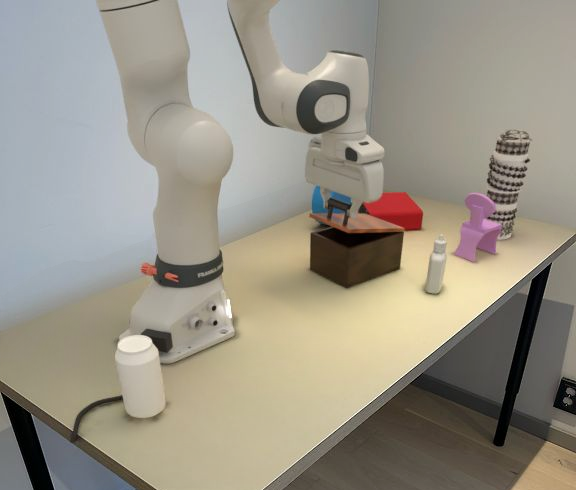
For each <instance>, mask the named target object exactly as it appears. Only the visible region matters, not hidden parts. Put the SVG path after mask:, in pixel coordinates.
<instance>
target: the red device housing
mask: <svg viewBox="0 0 576 490" xmlns="http://www.w3.org/2000/svg"><path fill="white" fill-rule="evenodd" d="M358 213H362V214H368V215H370V216H373V217H376V218H379V219H381V220H384V221H387V222H389V223H392V224H395V225H397V226H400V227H403V228H405V229H404V231H413V230H415V231H417V230H422V225H423V218H424V211H423V209H422V208H421V207H420V206H419V205H418V204H417V203H416V201H414V199H413V198H412V197H411V196H410V195H409V194H408V193H407V192H406V191H397V192H394V191H393V192H382V196H381V197H380V199H379V200H378V201H375V202H371V203H365V202H363V203H362V204H361V206H360V208H359V209H358Z"/></svg>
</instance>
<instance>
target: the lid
mask: <svg viewBox="0 0 576 490" xmlns="http://www.w3.org/2000/svg"><path fill="white" fill-rule="evenodd" d="M328 205H329V210H328V213H312V212H309V215H308V218H311V219H312V220H315V221H316V220H318V221H320V222H323V223H325V224H327V225H326V226H329V227H335V228H337V229H340V230H342V231H344V232H347V233H373V232H404V233H405V230H404V229H405V228H403V227H400V226H397V225H395V224H392V223H389V222H387V221H384V220H381V219H379V218H376V217H373V216H370V215H368V214H362V213H358V216H357V218H355V219H351V218H348V217H347V209H350V208H351V206H352V205H351V204H349V203H346V202H343V201H340V200H338V199H335V198H332V197H331V198H329V200H328ZM333 207H334V208H336V209H339V210H341V211H344V212H345V213H332V212H333ZM325 224H324V225H325Z"/></svg>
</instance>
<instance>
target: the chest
mask: <svg viewBox="0 0 576 490" xmlns="http://www.w3.org/2000/svg"><path fill="white" fill-rule="evenodd" d="M404 236H405V231H404V232H373V233H347V232H344V231H342V230H340V229H337V228H335V227H332V226H329V227H325V228H322V229H319V230H316V231H312V232H310V236H309V238H310V242H309V271H312V272H314V273H316V274H318V275H319V276H321V277H324V278H326V279H327V280H330V281H331V282H333V283H335V284H337V285H339V286H342V287H344V288H345V289H349V288H352V287H355V286H358V285H360V284H362V283H366V282H369V281H371V280H373V279H376V278H379V277H382V276H384V275H387V274H390V273H393V272H395V271H398V270H400V269H401V264H402V263H401V262H402V255H403V246H404V245H403V244H404Z"/></svg>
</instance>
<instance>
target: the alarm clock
mask: <svg viewBox="0 0 576 490" xmlns="http://www.w3.org/2000/svg"><path fill="white" fill-rule="evenodd" d="M330 194H331V197H332V198H335V199H338V200H340V201H343V202H346V203H349V204H351V205H352V204H353V203H351V197H348V196H345V195H342V194H339V193H337V192H334V191H330ZM323 204H324V200H323V198H322V196H321V193H320V186H317V185H314V189H313V193H312V198H311V213H328V209H325V208H324V207H323ZM332 213H345V212H344V211H341V210H339V209H336V208H333V212H332ZM315 221H316V222H317V223H318V227H319V228H321V226H322V225H325V226H328V225H327V224H325V223H323V222H320V221H318V220H315Z"/></svg>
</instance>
